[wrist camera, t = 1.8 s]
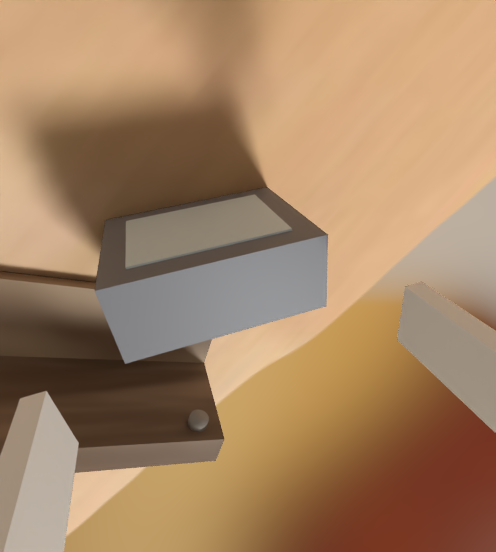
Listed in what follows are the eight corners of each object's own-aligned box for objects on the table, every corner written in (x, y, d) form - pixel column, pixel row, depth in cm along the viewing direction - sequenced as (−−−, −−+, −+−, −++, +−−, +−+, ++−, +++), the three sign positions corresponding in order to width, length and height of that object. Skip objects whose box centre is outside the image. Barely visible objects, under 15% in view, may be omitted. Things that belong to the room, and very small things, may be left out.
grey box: (105, 218, 20) (93, 288, 13) (266, 185, 22) (327, 232, 15) (125, 277, 22) (125, 363, 15) (271, 242, 24) (326, 306, 17)
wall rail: (-58, 264, 18) (-153, 360, 12) (221, 297, 25) (252, 371, 19) (-52, 370, 21) (-125, 489, 15) (195, 374, 28) (215, 460, 22)
